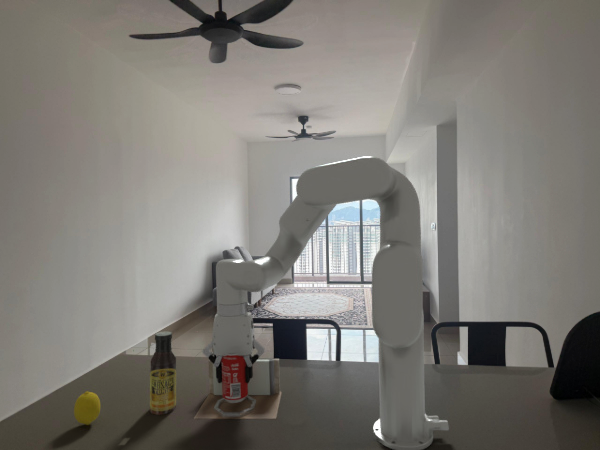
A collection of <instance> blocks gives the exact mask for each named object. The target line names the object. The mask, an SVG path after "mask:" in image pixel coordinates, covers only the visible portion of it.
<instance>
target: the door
mask: <svg viewBox="0 0 600 450" xmlns="http://www.w3.org/2000/svg"><path fill="white" fill-rule="evenodd" d="M213 386H214V395H222V383H218V378H216V367H215V366H214V364H213ZM274 394H275V386H274V360H273V358H272V359H258V360H257V361H256V362H255V363H254V364H253V377H252V378H251V379H250V381H249V383H248V395H274Z"/></svg>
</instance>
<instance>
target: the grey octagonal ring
mask: <svg viewBox="0 0 600 450" xmlns="http://www.w3.org/2000/svg"><path fill="white" fill-rule="evenodd" d="M245 399H246V400H247V401H249V402H251V403H252V404H251V407H250V408H248V409H245V410H243V411H240V412H223V411H222V410H221V409H219V407H220V405H221V404H222V403H225V402H227V401H226V400H225V399H224V398H222V399H220V400H218V401H217V403H216V405H215V407H214V412H216V413H217V414H219V415H220V416H221V417H241V416H244V415H246V414H248V413H251V412H253V411H254V408H255V405H256V400H255V399H253V398H252V397H250V396H248V395H247V396H246V397H245Z"/></svg>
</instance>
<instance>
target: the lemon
mask: <svg viewBox="0 0 600 450" xmlns="http://www.w3.org/2000/svg"><path fill="white" fill-rule="evenodd" d="M73 408H74V409H73V414H74V418H75V420H76V421H77V422H78V423H80V424H83V425H86V426H89V425H90V424H91V423H93V422H94V421H95V420H96V419H97V418H98V417H99V415H100V412H101V408H102V407H101V400H100V398H99V396H98V394H97V393H95V392H92V391H85V392H84V393H81V394H80V396H78V398H77V399H76V400H75V403H74V406H73Z"/></svg>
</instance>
